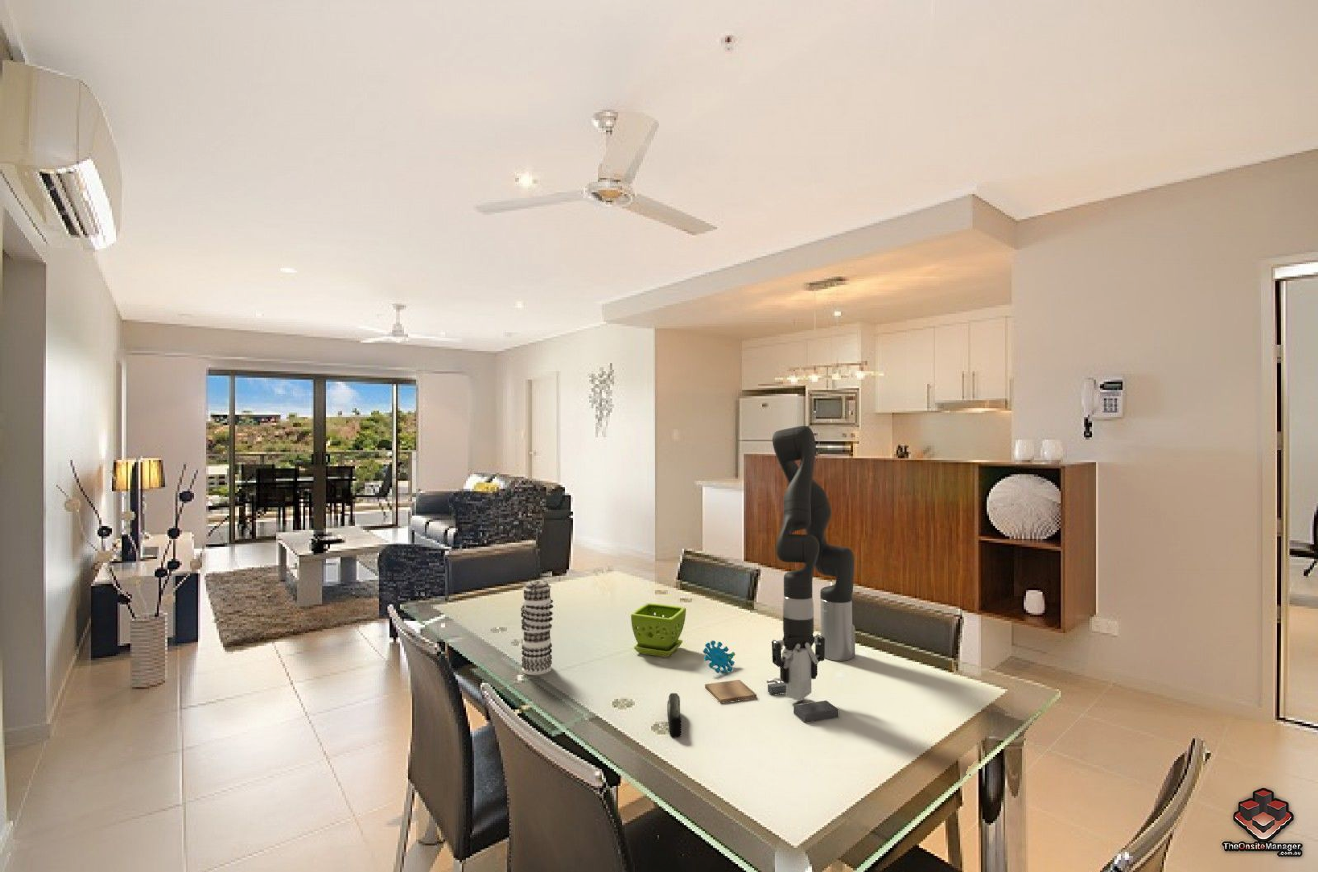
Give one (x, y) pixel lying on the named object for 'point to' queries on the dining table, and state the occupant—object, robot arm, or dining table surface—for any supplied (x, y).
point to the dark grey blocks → (806, 705)
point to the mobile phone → (674, 715)
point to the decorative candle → (536, 628)
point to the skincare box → (799, 675)
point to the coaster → (730, 691)
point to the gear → (718, 657)
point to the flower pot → (658, 628)
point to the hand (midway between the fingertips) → (798, 680)
